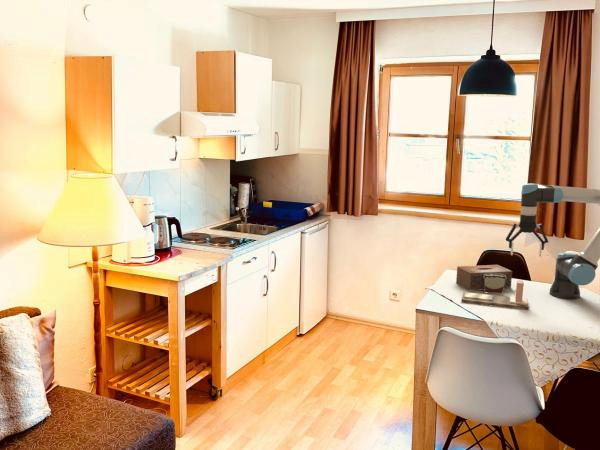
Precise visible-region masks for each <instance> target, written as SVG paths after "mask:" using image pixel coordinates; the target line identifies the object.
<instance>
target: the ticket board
mask: <svg viewBox="0 0 600 450" xmlns="http://www.w3.org/2000/svg"><path fill="white" fill-rule="evenodd" d="M461 296H462V297H461V303H463V304H464V303H465V304H473V303H474V305H475V304H476V305H481V304H483V306H490V305H492V306H491V307H498V308H499V307H502V308H506V309H507V308H508V309H515V310H516V309H518V310H525V311H526V310H527V311H528V310H529V309H530V306H529V302H528V301H529V300H527V305H523V304H514V303H510V297H511V296H504V295H502V296H501V295H493V294H486V293H485V294H484V293H477V292H476V293H475V292H465V291H463V292H462V295H461Z"/></svg>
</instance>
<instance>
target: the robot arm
mask: <svg viewBox="0 0 600 450" xmlns="http://www.w3.org/2000/svg"><path fill="white" fill-rule="evenodd" d="M520 196H521V199H520V201H521V203H520V215H519V223H516V222H513V224H512V227H511V229H510V231H509V232H508V234H507V236H506V237H505V240H506V242H508V248H509V249H510V255H511V256H513V255H514V240H515V239H517V237H519V236H520V234H522V233H528V234H530V233H533V234H534V235H535V237H536V238H537V239H538V240H539V250H538V257H542V251H544V250H545V244H548V243H549V240H548V238H547V235H546V233H545V231H544V228H543V224H542V223H539V224H537V215H536V214H537V213H538V212H537V209H538V208H537V207H538V203H540V204H542V203H544V204H545V203H549V204H552V203H553V204H555V203H561V202H571V203H572V202H574V203H584V204H593V205H594V204H595V205H596V204H597V206H600V188H585V187H575V186H573V187H572V186H561V185H560V186H559V185H547V184H541V183H529V182H528V183H523V184H522V187H521V195H520ZM518 227H519V229H518ZM536 228H538V230H540V233H541V234H542V237H543V238H542V237H541V236H540V235H539V234H538V232H537V231H536ZM516 229H518V231H516V232H515V230H516ZM514 232H515V234H514ZM513 234H514V235H513ZM512 235H513V236H512ZM555 260H556V261H555V271H554V280H553V281H552V284H551V286H550V288H549V295H551V296H552V297H555V298H560V299H563V300H565V299H566V300H576V299H577V300H578V299H580V298H581V291H580V287H579V286H587V285H589V284H591V283H592V282H593V281H594V280H595V278H596V270H597V269H598V267H599V263H598V261H599V260H600V226H599V227H598V229H596V232H595V233H594V235H592V237H591V238H590V240H589V241H588V243H587V244H586V245H585V246H584V248H583V250H582V251H581V252H578V253H573V252H572V253H571V252H559V253H557V255H556V259H555Z"/></svg>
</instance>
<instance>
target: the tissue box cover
mask: <svg viewBox="0 0 600 450" xmlns="http://www.w3.org/2000/svg"><path fill="white" fill-rule="evenodd" d="M456 267H457V268H456V280H455V283H456V285H458V286H460V287H463V288H464V289H466V290H467V291H480V290H479V289H485V285H484V278H483V276H484V274H485V273H489V272H493V273H501V274H504V275H506V277H507V279H505V284H504V288H505V289H511V288H512V279H513V271H512V270H510V269H508V268H506V267H503V266H501V265H499V264H487V265H482V264H481V265H464V266H463V265H461V266H459V265H458V266H456Z"/></svg>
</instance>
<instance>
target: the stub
mask: <svg viewBox="0 0 600 450" xmlns="http://www.w3.org/2000/svg"><path fill="white" fill-rule="evenodd" d="M524 285H525V284H524V280H521V279H517V280H516V288H515V295H514V296H515V297H512V296H509V297H510V303H514V304H523V305H527V301H528V298H523V295H524Z"/></svg>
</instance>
